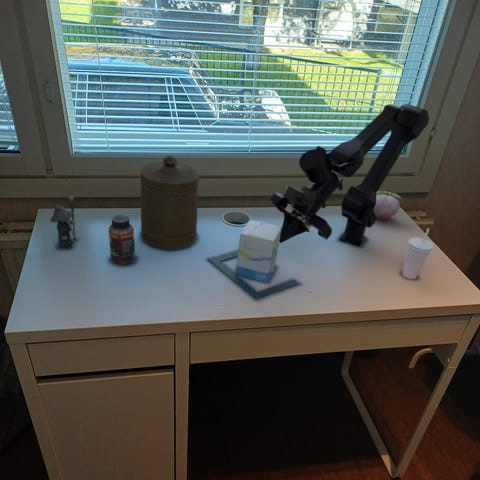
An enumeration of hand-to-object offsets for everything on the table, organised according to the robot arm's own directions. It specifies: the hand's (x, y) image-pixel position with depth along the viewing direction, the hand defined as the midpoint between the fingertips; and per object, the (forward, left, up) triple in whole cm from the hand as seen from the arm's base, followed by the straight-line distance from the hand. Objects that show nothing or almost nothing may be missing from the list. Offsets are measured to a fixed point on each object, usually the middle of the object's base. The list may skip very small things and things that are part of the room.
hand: (278, 241), depth 119 cm
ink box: (+6, -3, -7) cm, 10 cm away
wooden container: (+5, -30, -7) cm, 31 cm away
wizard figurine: (+24, -49, -7) cm, 55 cm away
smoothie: (-17, +32, -7) cm, 37 cm away
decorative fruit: (-47, +16, -7) cm, 50 cm away
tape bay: (+7, -3, -7) cm, 10 cm away
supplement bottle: (+22, -32, -7) cm, 39 cm away
